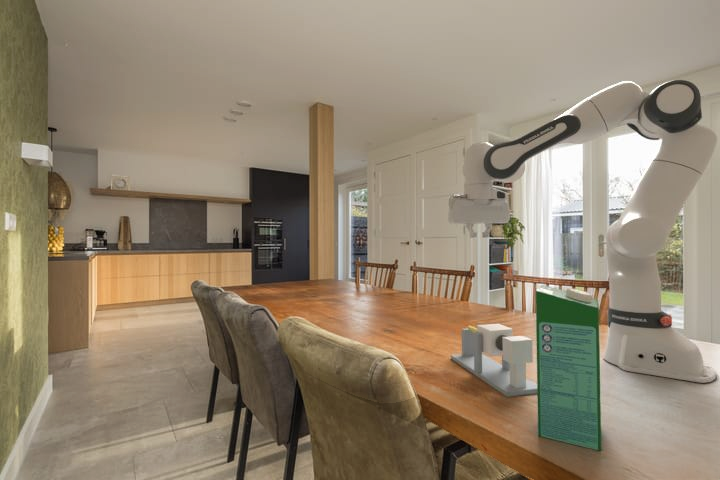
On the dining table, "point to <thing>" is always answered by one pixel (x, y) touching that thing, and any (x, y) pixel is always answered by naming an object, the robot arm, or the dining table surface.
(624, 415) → the dining table surface
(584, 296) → the milk carton
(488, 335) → the sleeve
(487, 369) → the bearing mount fixture
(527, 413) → the dining table surface
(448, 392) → the dining table surface
